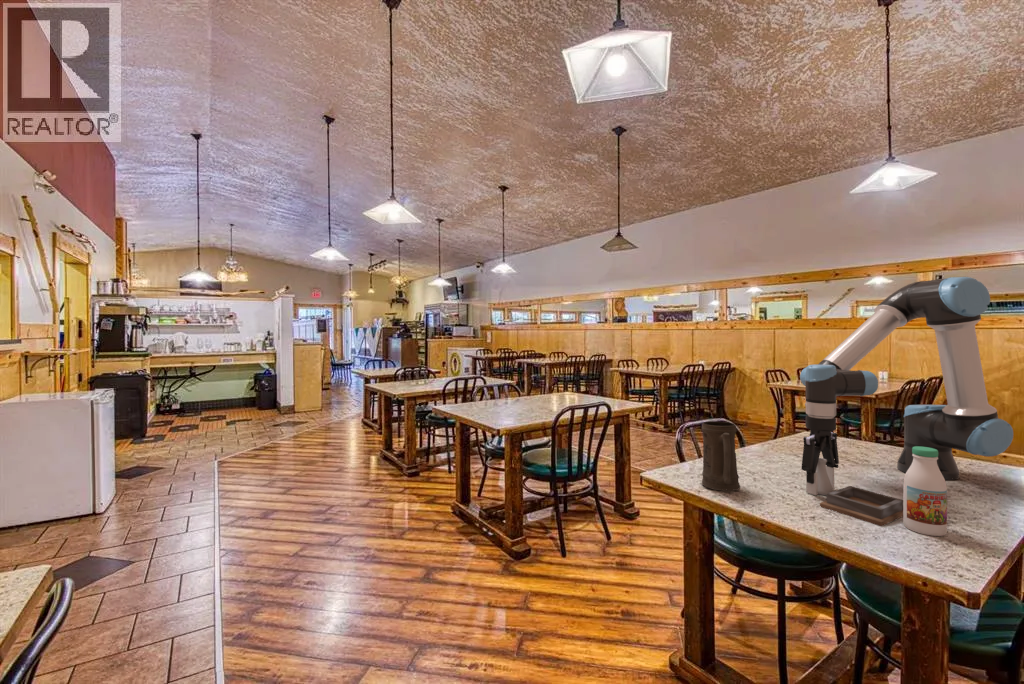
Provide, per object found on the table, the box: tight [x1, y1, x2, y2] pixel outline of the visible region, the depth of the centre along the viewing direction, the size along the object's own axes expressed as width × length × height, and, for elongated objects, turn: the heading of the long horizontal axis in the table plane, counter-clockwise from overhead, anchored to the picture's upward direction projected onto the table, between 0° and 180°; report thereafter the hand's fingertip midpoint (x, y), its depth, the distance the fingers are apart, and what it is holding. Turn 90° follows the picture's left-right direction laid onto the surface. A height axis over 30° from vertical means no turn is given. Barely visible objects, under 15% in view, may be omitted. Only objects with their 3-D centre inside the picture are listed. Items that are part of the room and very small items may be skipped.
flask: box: [816, 457, 835, 496], centre depth 131 cm, size 7×7×10 cm
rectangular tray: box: [819, 485, 903, 527], centre depth 118 cm, size 16×14×4 cm
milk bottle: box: [902, 446, 948, 537], centre depth 105 cm, size 8×8×20 cm
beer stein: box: [701, 421, 741, 492], centre depth 134 cm, size 15×11×20 cm
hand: (820, 490), depth 131 cm, fingers open, 8 cm apart
